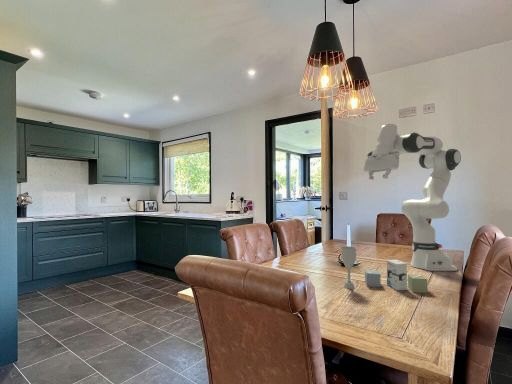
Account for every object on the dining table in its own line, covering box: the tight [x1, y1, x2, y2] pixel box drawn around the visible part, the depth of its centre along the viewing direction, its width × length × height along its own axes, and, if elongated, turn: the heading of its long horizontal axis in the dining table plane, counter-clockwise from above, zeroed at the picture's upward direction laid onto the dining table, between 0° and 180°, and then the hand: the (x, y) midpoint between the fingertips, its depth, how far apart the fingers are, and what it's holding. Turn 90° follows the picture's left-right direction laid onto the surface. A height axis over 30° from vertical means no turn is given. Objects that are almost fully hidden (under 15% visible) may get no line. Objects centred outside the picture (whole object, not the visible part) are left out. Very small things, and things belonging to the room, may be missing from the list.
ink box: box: [386, 259, 408, 291], centre depth 131 cm, size 8×5×12 cm, turn 5°
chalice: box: [340, 246, 358, 290], centre depth 132 cm, size 7×7×18 cm
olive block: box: [407, 274, 428, 294], centre depth 127 cm, size 6×6×6 cm
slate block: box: [364, 269, 382, 288], centre depth 135 cm, size 6×6×6 cm
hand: (377, 179), depth 147 cm, fingers open, 8 cm apart
